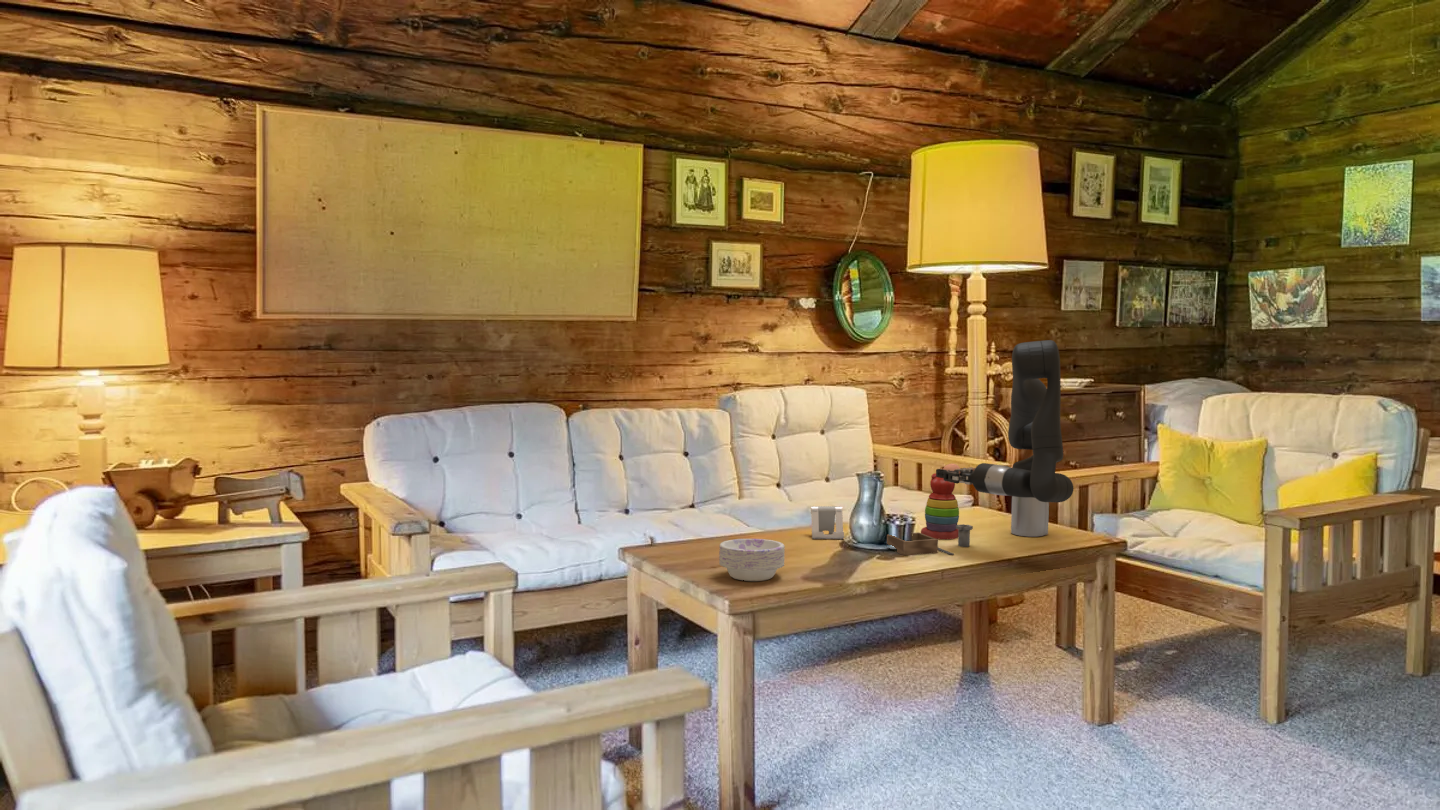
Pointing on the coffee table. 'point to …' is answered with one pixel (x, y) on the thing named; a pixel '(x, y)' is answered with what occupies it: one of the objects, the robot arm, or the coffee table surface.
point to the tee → (964, 535)
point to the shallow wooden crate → (914, 544)
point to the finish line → (945, 551)
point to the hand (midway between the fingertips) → (944, 472)
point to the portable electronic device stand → (827, 522)
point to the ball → (951, 467)
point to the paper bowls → (751, 558)
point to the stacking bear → (941, 510)
